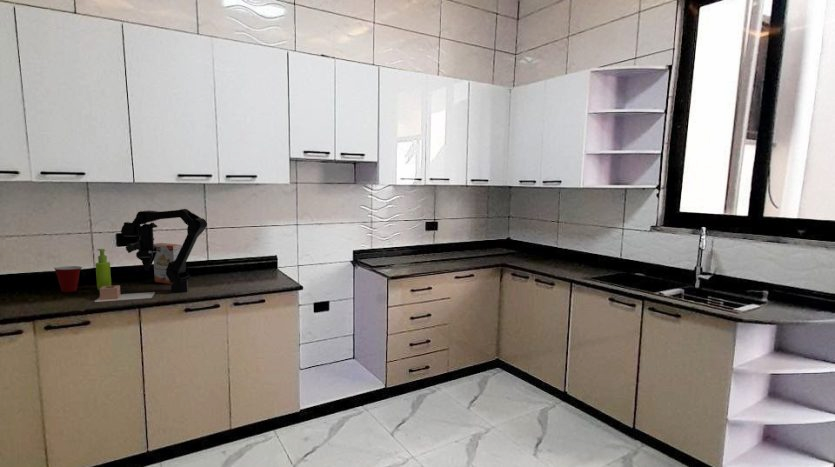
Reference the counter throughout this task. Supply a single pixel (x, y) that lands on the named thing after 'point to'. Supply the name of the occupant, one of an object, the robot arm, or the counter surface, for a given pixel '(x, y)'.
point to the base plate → (130, 296)
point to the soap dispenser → (103, 271)
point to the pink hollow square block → (110, 292)
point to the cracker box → (164, 260)
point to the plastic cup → (68, 277)
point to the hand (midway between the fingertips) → (148, 268)
